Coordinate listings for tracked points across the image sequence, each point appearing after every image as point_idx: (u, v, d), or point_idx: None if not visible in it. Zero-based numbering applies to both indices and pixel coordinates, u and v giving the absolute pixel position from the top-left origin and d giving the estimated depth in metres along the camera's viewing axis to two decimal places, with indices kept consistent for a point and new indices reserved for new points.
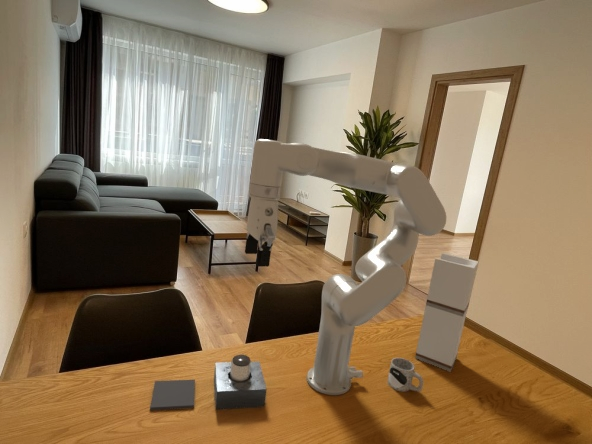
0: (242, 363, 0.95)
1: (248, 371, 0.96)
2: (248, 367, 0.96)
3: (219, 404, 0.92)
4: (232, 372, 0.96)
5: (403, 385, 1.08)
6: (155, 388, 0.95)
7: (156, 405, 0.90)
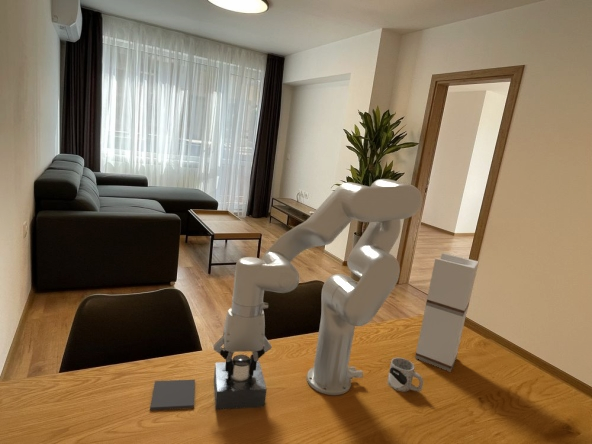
0: (242, 363, 0.95)
1: (248, 371, 0.96)
2: (248, 367, 0.96)
3: (219, 404, 0.92)
4: (232, 372, 0.96)
5: (403, 385, 1.08)
6: (155, 388, 0.95)
7: (156, 405, 0.90)
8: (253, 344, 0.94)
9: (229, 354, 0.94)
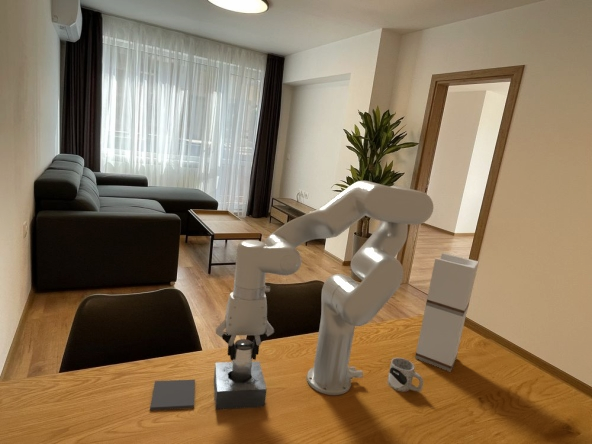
0: (244, 347, 0.95)
1: (251, 355, 0.96)
2: (250, 351, 0.95)
3: (219, 404, 0.92)
4: (234, 356, 0.95)
5: (403, 385, 1.08)
6: (155, 388, 0.95)
7: (156, 405, 0.90)
8: (255, 328, 0.94)
9: (231, 338, 0.94)
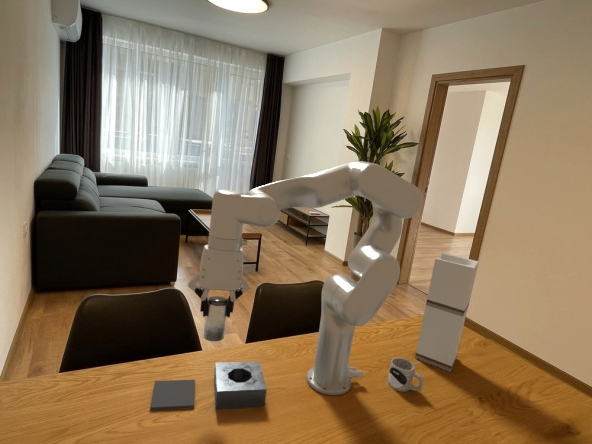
0: (218, 303, 0.90)
1: (224, 312, 0.91)
2: (225, 307, 0.91)
3: (219, 404, 0.92)
4: (207, 312, 0.91)
5: (403, 385, 1.08)
6: (155, 388, 0.95)
7: (156, 405, 0.90)
8: (230, 282, 0.89)
9: (204, 292, 0.89)
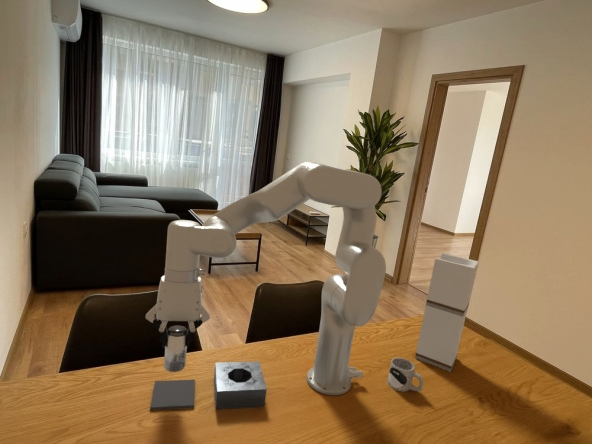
0: (177, 333, 0.90)
1: (184, 342, 0.91)
2: (184, 338, 0.90)
3: (219, 404, 0.92)
4: (166, 343, 0.90)
5: (403, 385, 1.08)
6: (155, 388, 0.95)
7: (156, 405, 0.90)
8: (188, 313, 0.89)
9: (162, 323, 0.89)
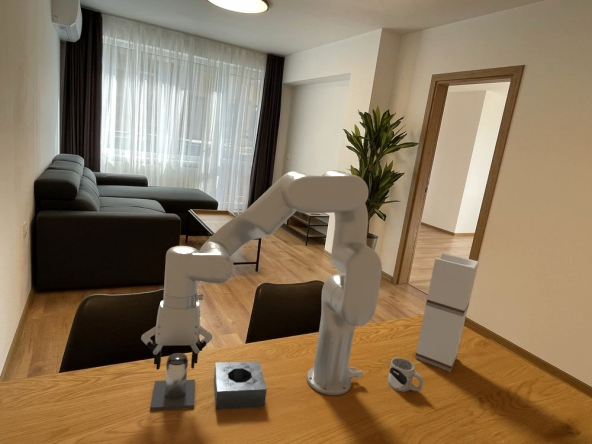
0: (177, 362, 0.91)
1: (184, 370, 0.92)
2: (184, 366, 0.92)
3: (219, 404, 0.92)
4: (167, 371, 0.92)
5: (403, 385, 1.08)
6: (155, 388, 0.95)
7: (156, 405, 0.90)
8: (187, 337, 0.90)
9: (158, 346, 0.90)
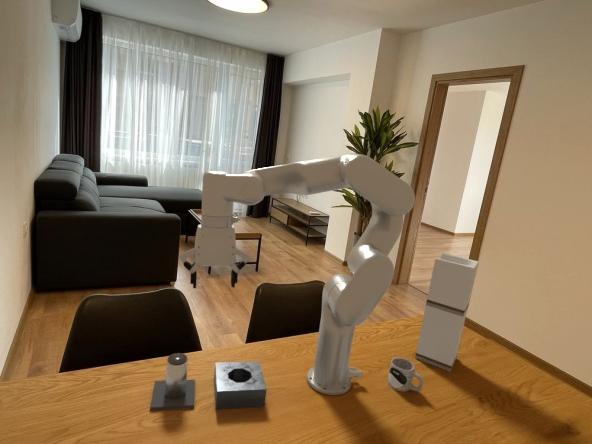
0: (177, 362, 0.91)
1: (184, 370, 0.92)
2: (184, 366, 0.92)
3: (219, 404, 0.92)
4: (167, 371, 0.92)
5: (403, 385, 1.08)
6: (155, 388, 0.95)
7: (156, 405, 0.90)
8: (224, 258, 0.95)
9: (195, 266, 0.94)
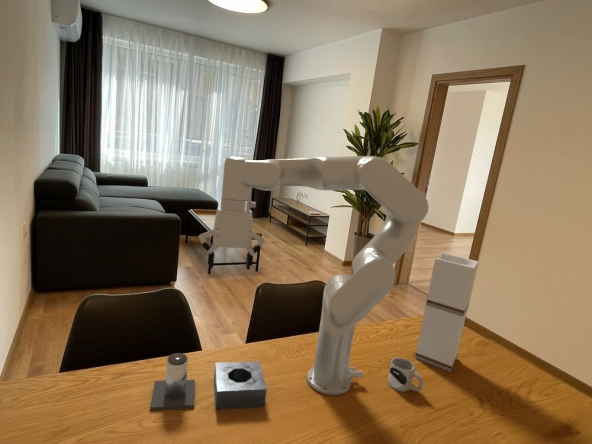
0: (177, 362, 0.91)
1: (184, 370, 0.92)
2: (184, 366, 0.92)
3: (219, 404, 0.92)
4: (167, 371, 0.92)
5: (403, 385, 1.08)
6: (155, 388, 0.95)
7: (156, 405, 0.90)
8: (241, 240, 0.99)
9: (213, 246, 0.99)
